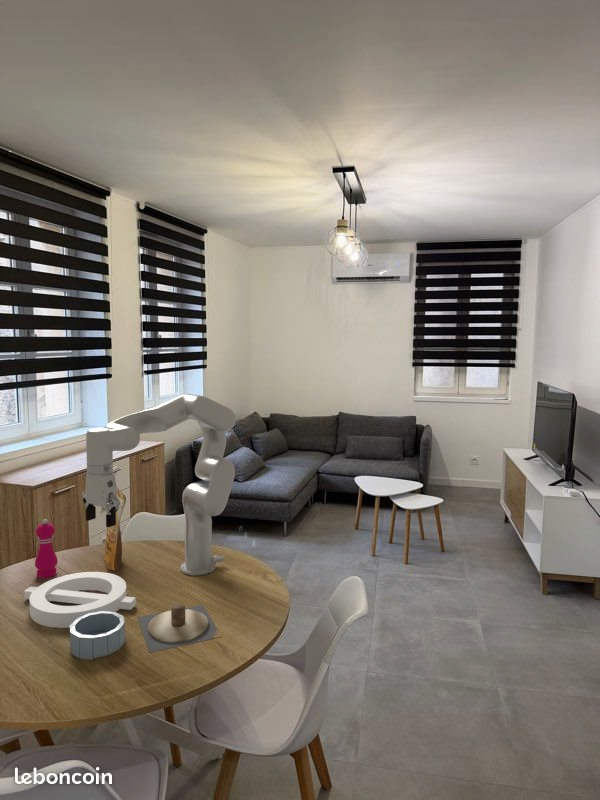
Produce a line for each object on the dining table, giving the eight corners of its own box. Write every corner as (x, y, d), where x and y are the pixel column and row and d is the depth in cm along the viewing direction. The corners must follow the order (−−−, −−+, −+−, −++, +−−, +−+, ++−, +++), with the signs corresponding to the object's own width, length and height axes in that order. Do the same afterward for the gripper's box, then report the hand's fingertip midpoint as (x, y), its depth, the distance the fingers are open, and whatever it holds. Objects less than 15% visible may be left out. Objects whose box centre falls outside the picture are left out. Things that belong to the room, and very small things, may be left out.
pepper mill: (61, 570, 196) (60, 516, 194) (50, 579, 189) (49, 523, 187) (42, 569, 197) (41, 515, 195) (30, 578, 190) (29, 522, 188)
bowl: (120, 627, 160) (120, 607, 159) (127, 652, 147) (127, 631, 147) (69, 637, 154) (68, 617, 153) (72, 664, 142) (71, 642, 141)
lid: (199, 607, 171) (199, 589, 171) (215, 635, 156) (215, 615, 155) (143, 618, 164) (143, 599, 163) (154, 648, 149) (154, 627, 148)
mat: (202, 606, 173) (202, 604, 173) (221, 638, 155) (221, 636, 155) (137, 618, 165) (137, 617, 165) (149, 654, 147) (149, 652, 147)
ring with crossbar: (22, 599, 176) (21, 584, 175) (111, 578, 192) (110, 565, 192) (40, 639, 153) (39, 622, 153) (139, 611, 170) (138, 597, 169)
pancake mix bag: (121, 551, 215) (120, 481, 211) (127, 571, 197) (126, 495, 194) (103, 554, 212) (101, 483, 209) (107, 574, 195) (106, 497, 191)
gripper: (128, 470, 167) (129, 525, 169) (92, 462, 177) (93, 514, 178) (107, 475, 161) (108, 532, 163) (71, 466, 170) (72, 520, 172)
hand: (100, 522), depth 171 cm, fingers open, 9 cm apart
